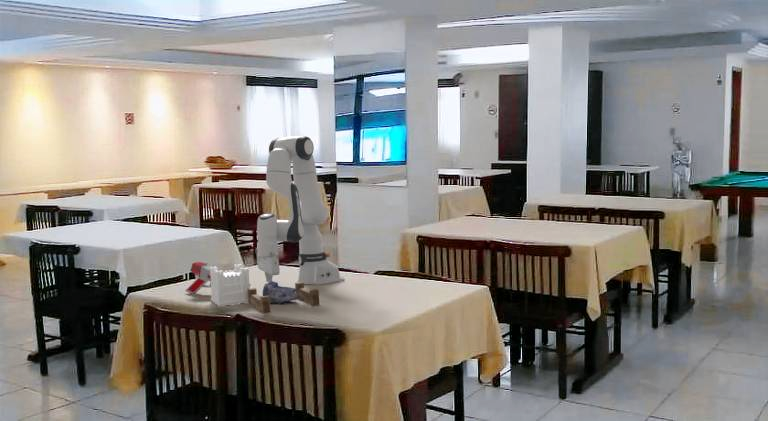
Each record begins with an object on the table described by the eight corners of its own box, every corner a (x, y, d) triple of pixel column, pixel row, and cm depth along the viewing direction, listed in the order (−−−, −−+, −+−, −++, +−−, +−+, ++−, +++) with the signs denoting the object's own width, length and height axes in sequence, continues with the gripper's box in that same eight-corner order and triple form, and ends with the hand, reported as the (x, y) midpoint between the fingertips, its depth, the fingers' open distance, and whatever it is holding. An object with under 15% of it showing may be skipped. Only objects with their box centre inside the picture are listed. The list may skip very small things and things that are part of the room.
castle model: (218, 307, 329) (216, 272, 327) (211, 300, 342) (209, 267, 340) (251, 302, 335) (249, 268, 333) (242, 296, 348) (240, 263, 346)
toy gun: (235, 316, 349) (245, 285, 346) (182, 291, 355) (191, 261, 352) (242, 312, 356) (251, 282, 353) (190, 288, 362) (199, 259, 359)
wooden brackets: (302, 296, 344) (302, 282, 343) (319, 304, 326) (319, 289, 325) (248, 303, 333) (247, 288, 332) (262, 313, 315) (262, 297, 315)
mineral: (259, 282, 332) (275, 276, 340) (259, 303, 334) (275, 297, 342) (285, 289, 324) (300, 283, 333) (285, 310, 327) (300, 304, 335)
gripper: (282, 253, 335) (283, 285, 336) (267, 247, 353) (268, 277, 354) (268, 254, 332) (269, 286, 333) (254, 248, 350) (255, 279, 351)
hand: (269, 282), depth 344 cm, fingers closed
